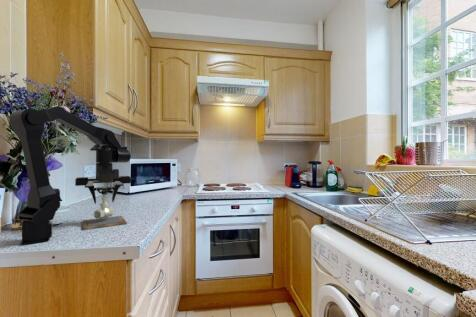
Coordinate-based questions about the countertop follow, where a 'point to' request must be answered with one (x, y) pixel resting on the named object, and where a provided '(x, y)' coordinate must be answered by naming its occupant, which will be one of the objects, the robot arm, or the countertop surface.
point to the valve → (104, 204)
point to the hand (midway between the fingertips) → (104, 202)
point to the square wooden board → (103, 222)
